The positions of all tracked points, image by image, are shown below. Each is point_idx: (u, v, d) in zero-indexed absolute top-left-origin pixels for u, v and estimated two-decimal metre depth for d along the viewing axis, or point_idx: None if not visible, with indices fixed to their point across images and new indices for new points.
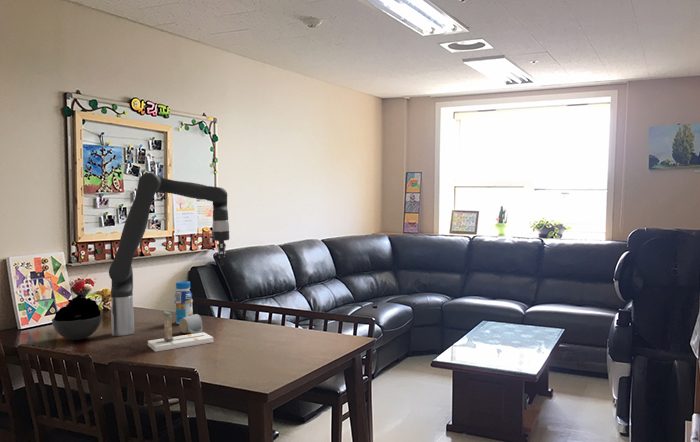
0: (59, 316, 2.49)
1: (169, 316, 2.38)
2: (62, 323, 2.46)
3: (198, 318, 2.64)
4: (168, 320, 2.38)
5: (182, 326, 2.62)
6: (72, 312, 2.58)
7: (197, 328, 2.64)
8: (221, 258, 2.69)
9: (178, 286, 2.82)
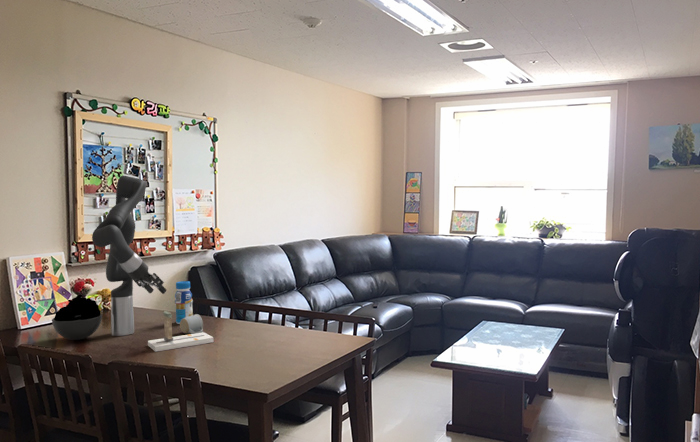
0: (59, 316, 2.49)
1: (169, 316, 2.38)
2: (62, 323, 2.46)
3: (198, 319, 2.64)
4: (168, 320, 2.38)
5: (183, 326, 2.62)
6: (72, 312, 2.58)
7: (198, 328, 2.63)
8: None
9: (178, 286, 2.82)
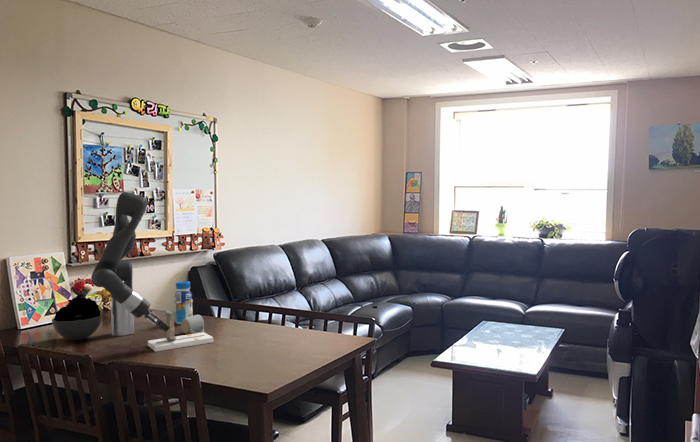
0: (59, 316, 2.49)
1: (171, 316, 2.38)
2: (62, 323, 2.46)
3: (199, 319, 2.63)
4: (170, 320, 2.39)
5: (184, 327, 2.61)
6: (72, 312, 2.58)
7: (199, 329, 2.63)
8: None
9: (178, 286, 2.82)
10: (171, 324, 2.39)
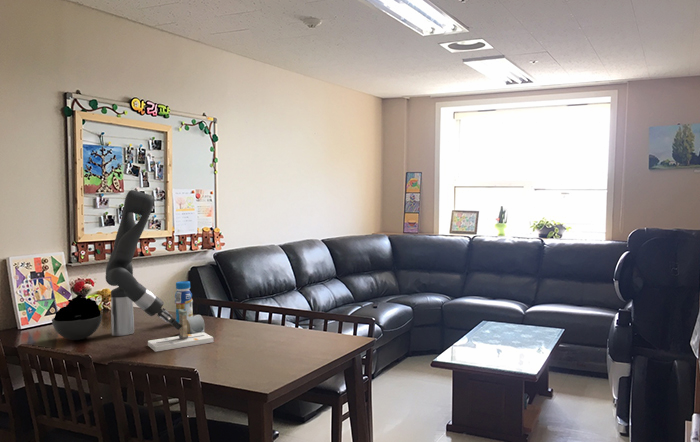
0: (59, 316, 2.49)
1: (184, 314, 2.41)
2: (62, 323, 2.46)
3: (200, 319, 2.63)
4: (183, 318, 2.42)
5: None
6: (72, 312, 2.58)
7: (199, 329, 2.62)
8: None
9: (178, 286, 2.82)
10: (184, 322, 2.42)
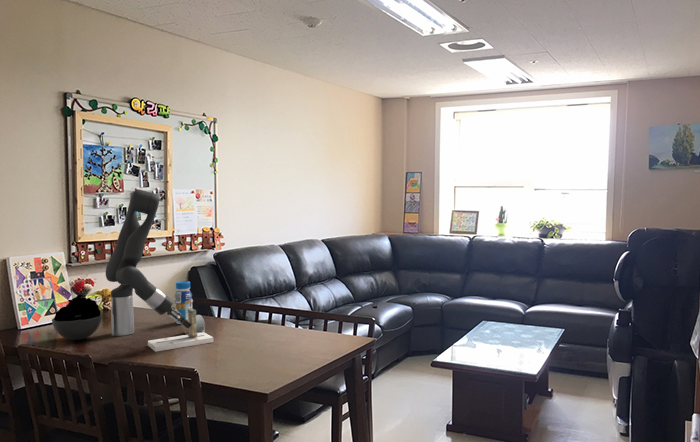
0: (59, 316, 2.49)
1: (194, 313, 2.43)
2: (62, 323, 2.46)
3: (200, 319, 2.63)
4: (192, 317, 2.44)
5: (184, 327, 2.61)
6: (72, 312, 2.58)
7: (199, 329, 2.62)
8: None
9: (178, 286, 2.82)
10: (193, 321, 2.44)
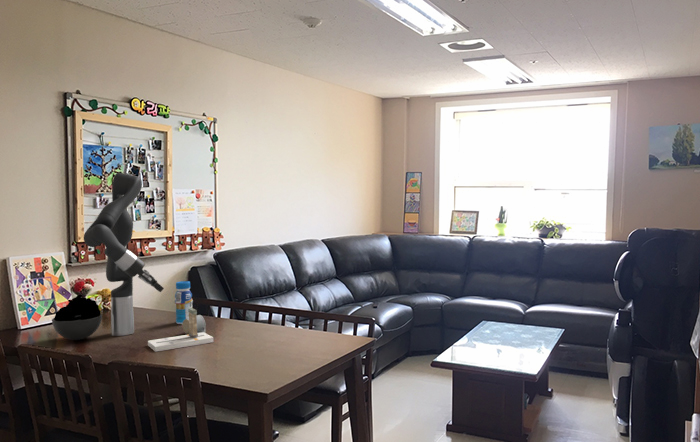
0: (59, 316, 2.49)
1: (194, 313, 2.43)
2: (62, 323, 2.46)
3: (201, 319, 2.62)
4: (193, 317, 2.44)
5: (185, 327, 2.60)
6: (72, 312, 2.58)
7: (200, 329, 2.62)
8: None
9: (178, 286, 2.82)
10: (194, 321, 2.44)
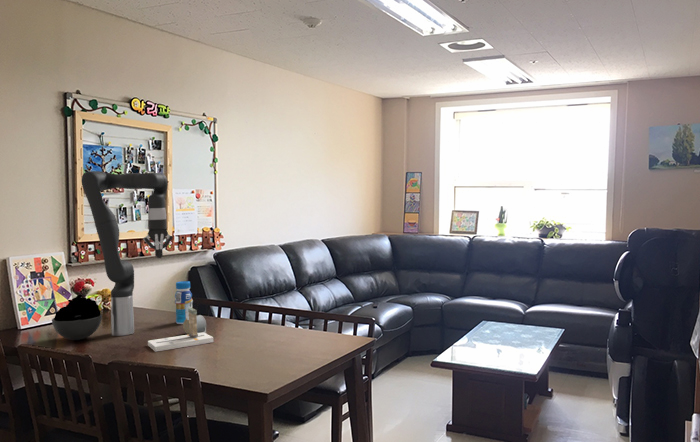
0: (59, 316, 2.49)
1: (194, 313, 2.43)
2: (62, 323, 2.46)
3: (202, 319, 2.62)
4: (193, 317, 2.44)
5: (186, 327, 2.60)
6: (72, 312, 2.58)
7: (201, 329, 2.61)
8: (155, 250, 2.55)
9: (178, 286, 2.82)
10: (194, 321, 2.44)
